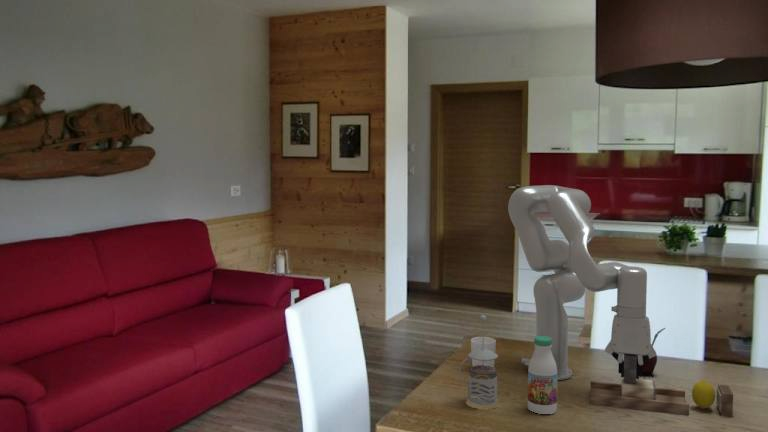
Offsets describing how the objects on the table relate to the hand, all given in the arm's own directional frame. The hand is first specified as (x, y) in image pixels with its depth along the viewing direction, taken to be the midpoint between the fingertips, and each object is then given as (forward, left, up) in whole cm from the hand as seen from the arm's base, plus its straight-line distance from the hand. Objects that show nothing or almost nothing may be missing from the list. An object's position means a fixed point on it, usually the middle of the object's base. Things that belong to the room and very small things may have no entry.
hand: (629, 376), depth 179 cm
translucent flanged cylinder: (-43, +14, -7) cm, 46 cm away
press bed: (+2, 0, -7) cm, 8 cm away
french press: (-39, -13, -7) cm, 42 cm away
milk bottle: (-22, -13, -7) cm, 27 cm away
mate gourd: (+6, +26, -7) cm, 27 cm away
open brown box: (+24, 0, -7) cm, 25 cm away
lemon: (+19, 0, -7) cm, 20 cm away
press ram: (+2, 0, -6) cm, 6 cm away
